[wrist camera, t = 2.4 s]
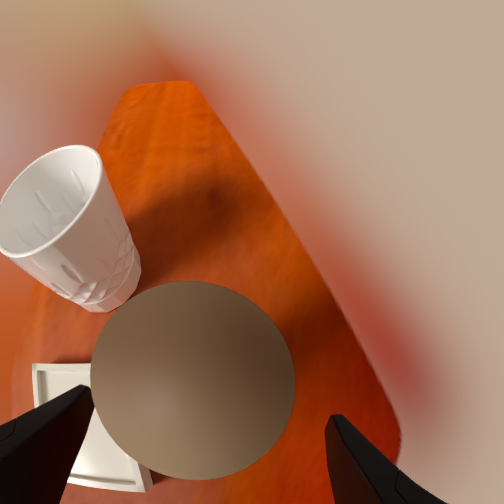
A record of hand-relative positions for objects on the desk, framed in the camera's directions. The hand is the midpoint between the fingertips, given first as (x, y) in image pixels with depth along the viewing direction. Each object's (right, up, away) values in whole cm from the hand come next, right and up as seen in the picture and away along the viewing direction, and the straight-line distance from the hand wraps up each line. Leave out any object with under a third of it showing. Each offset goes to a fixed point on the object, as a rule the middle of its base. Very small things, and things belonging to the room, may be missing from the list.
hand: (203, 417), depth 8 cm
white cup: (-10, +4, +12) cm, 16 cm away
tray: (-10, -7, +6) cm, 13 cm away
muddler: (0, -3, +8) cm, 9 cm away
